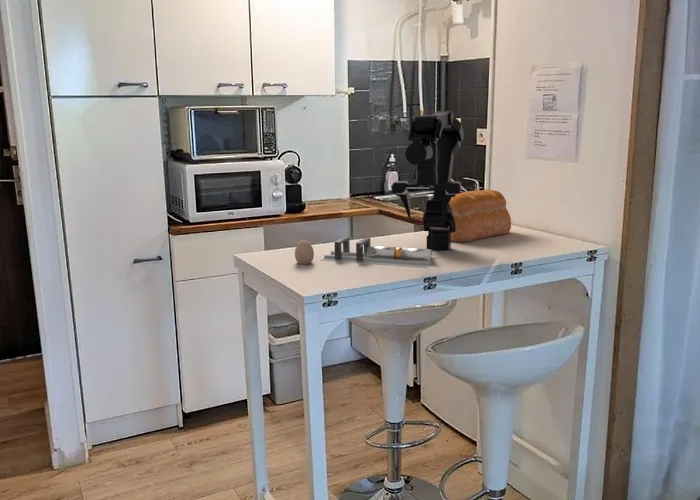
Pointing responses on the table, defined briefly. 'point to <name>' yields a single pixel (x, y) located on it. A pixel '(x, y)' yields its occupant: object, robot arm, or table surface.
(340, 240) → the collar
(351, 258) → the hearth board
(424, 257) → the tube
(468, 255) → the table surface
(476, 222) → the bread
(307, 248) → the egg
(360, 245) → the dark gray arch
